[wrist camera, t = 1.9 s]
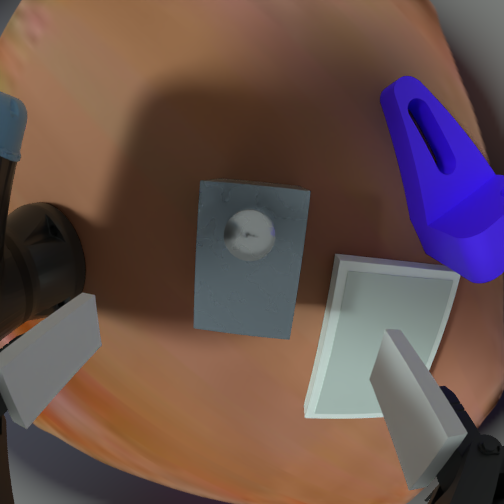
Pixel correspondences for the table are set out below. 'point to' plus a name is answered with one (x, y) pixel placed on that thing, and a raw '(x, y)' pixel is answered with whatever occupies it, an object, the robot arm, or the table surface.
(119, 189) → the table surface
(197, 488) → the table surface
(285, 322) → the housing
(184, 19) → the table surface
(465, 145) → the bracket
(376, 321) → the tray
